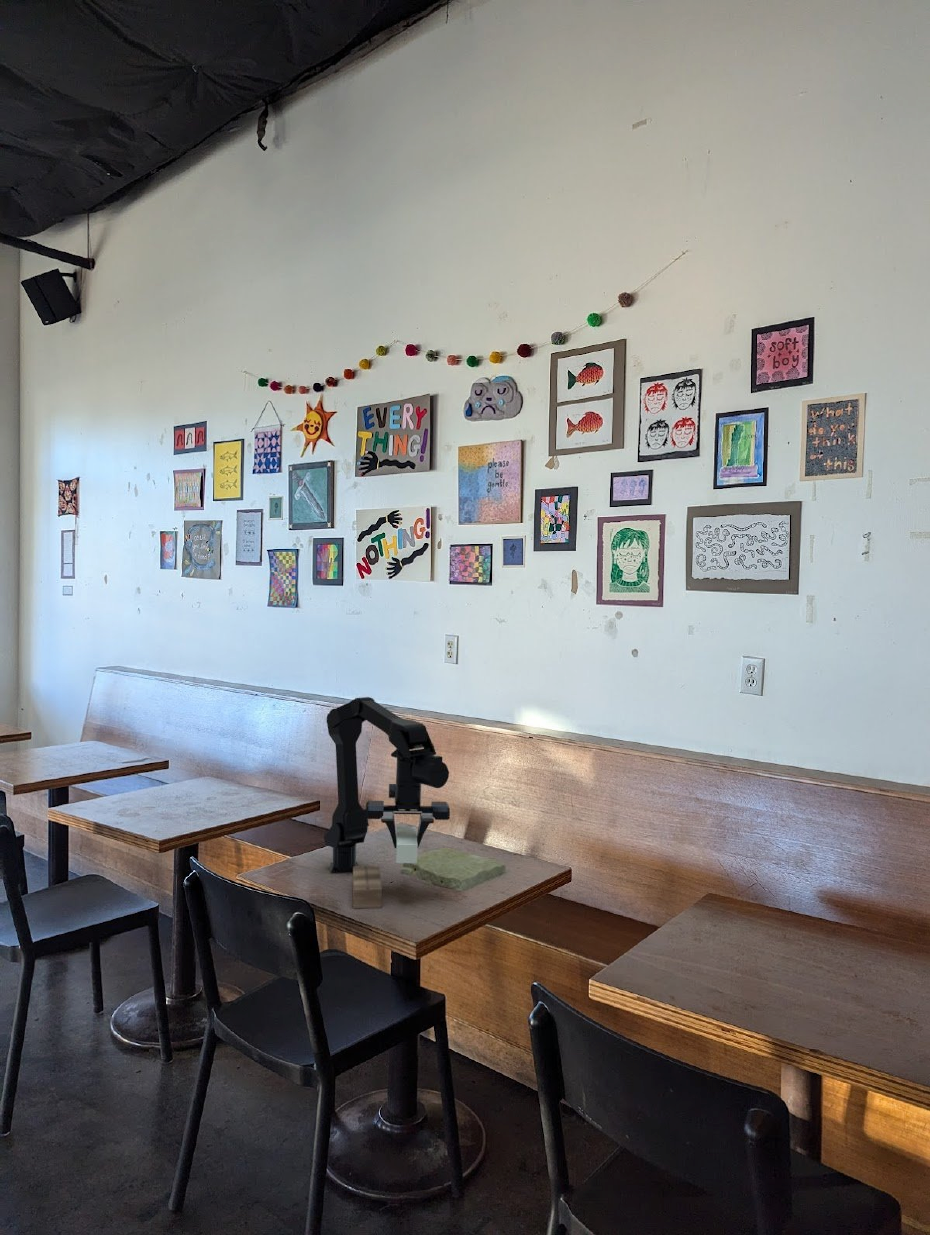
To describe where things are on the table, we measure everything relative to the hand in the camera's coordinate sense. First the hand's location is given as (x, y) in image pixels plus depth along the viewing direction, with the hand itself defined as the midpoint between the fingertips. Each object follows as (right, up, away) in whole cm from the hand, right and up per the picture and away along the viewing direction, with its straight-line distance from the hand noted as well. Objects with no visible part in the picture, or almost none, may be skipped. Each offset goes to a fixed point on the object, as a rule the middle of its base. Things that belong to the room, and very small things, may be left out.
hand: (406, 847), depth 193 cm
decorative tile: (+10, -11, +16) cm, 22 cm away
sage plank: (0, -1, 0) cm, 1 cm away
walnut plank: (-9, -10, -1) cm, 14 cm away
